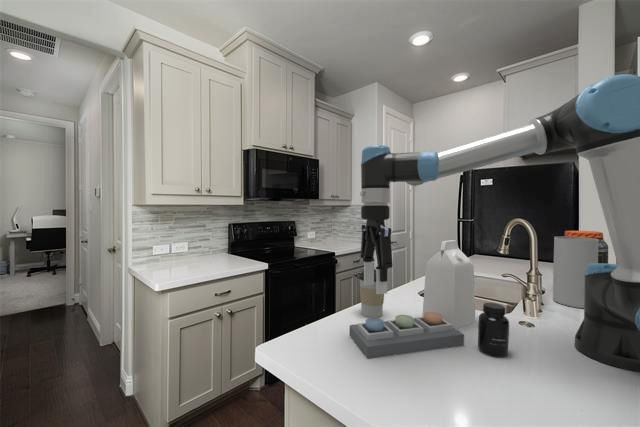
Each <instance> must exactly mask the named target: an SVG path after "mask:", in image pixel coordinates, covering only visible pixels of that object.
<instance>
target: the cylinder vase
mask: <svg viewBox="0 0 640 427" xmlns="http://www.w3.org/2000/svg"><path fill="white" fill-rule="evenodd" d="M553 239H554V241H553V277H552V278H553V280H552V299H553V301H554V302H555V303H557V304H560V305H562V306H567V307H571V308H577V309H583V310H584V298H585V277H584V275H585V271H586V266H587V265H588V264H591V263H598V239H594V238H585V237H567V236H563V235H562V236H558V235H557V236H554V238H553Z"/></svg>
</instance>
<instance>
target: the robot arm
mask: <svg viewBox="0 0 640 427" xmlns="http://www.w3.org/2000/svg"><path fill="white" fill-rule="evenodd" d="M567 149H568V150H569V149H575V151H576V155H577V156H579V157H582V158H583V159H586V160H587V161H588V164H589V166H590V170H591V173H592V176H593V180H594V184H595V188H596V191H597V192H596V193H597V195H598V198H599V202H600V206H601V209H602V213H603V216H604V221H605V223H606V228H607V230H608V234H609V237H610V241H611V242H610V243H611V244H612V249H613V252H614V256H615V259H616V263H608V264H605V263H591V264H588V265H587V266H586V271H585V275H584V277H585V298H584V309H583V310H584V311H583V313H584V314H583V320H582V322H581V324H580V326H579V328H578V329H577V331H576V333H575V335H574V348H575V349H576V350H577V351H579V352H580V353H582V354H583V355H585V356H587V357H589V358H590V359H593V360H596V361H598V362H600V363H603V364H605V365H606V364H607V365H609V366H613V367H616V368H620V369H625V370H630V371H634V372H635V371H636V372H640V76H639V75H636V74H630V73H629V74H628V73H627V74H625V73H624V74H616V75H611V76H608V77H606V78H604V79H601V80H599V81H597V82H595V83H593V84H591V85H588V86H587V87H585V89H584V90H582V91H581V92H580V93H579V94H577V95H576V96H574V97H573V98H572V99H570V100H569V101H567V102H566V103H563V105H561V106H558V107H557V108H556V109H554V110H552V111H550V112H548V113H546V114H543V115H541V116H538V117H535V118H532V119H531V120H530V121H529V122H528V123H527V124H526V125H523V126H522V125H521V126H519V127H515V128H513V129H509V130H506V131H503V132H500V133H496V134H492V135H489V136H486V137H482V138H479V139H476V140H472V141H469V142H466V143H463V144H461V145H460V144H459V145H457V146H454V147H453V146H452V147H450V148H447V149H444V150H441V151H434V150H433V151H432V150H431V151H430V150H429V151H427V150H422V151H415V152H414V151H412V152H398V153H397V152H396V153H395V152H391V149H390V146H388V145H385V144H384V145H383V144H381V145H379V144H374V145H368V146H366V147H364V148H363V149H362V151H361V163H360V169H361V170H360V172H361V174H360V175H361V176H360V178H361V181H360V182H361V184H360V185H361V191H360V192H359V195H360V196H361V200H360V201H361V202H360V203H361V204H363V205H362V206H361V207H360V210H361V211H360V217H361V219H362V220H366V222H365V223H366V224H361V242H360V244H361V246H360V259H362V262H363V271H364V285H374V269H375V270H376V294H384V295H385V294H386V295H387V294H388V269H392V268H393V252H392V237H391V236H392V228H391V227H386V224H385V220H389V219H390V216H391V214H390V212H391V209H390V208H391V207H390V206H389V205H388V204H390V203H391V202H390V201H391V192H390V191H391V187H390V184H391V183H400V182H401V183H406V184H408V185H409V186H412V187H413V186H414V187H416V186H420V185H423V184H425V183H428V182H435V181H437V180H438V179H441V178H446V177H449V176H453V175H457V174H459V173H460V174H461V173H463V172H468V171H471V170H475V169H479V168H482V167H486V166H490V165H493V164H496V163H500V162H504V161H507V160H511V159H516V158H519V157H523V156H526V155H531V154H533V153H535V154H537V155H545V154H548V153H549V154H550V153H551V152H557V151H562V150H567ZM374 253H375V256H376V259H375V258H374ZM375 261H377V262H376V263H377V266H376V267H375Z"/></svg>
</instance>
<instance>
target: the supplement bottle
mask: <svg viewBox="0 0 640 427" xmlns="http://www.w3.org/2000/svg"><path fill="white" fill-rule="evenodd" d="M482 307H483V308H482V311H483V312H481V313H480V314H479V315H478V322H477V323H478V324H477V325H478V326H477V328H478V330H477V347H478V350H479V351H481V353H483V354H485V355H487V356H490V357H494V358H505V357H507V356H508V354H509V343H510V342H509V339H510V320H509V319H508V318H507V316H505V315H506V307H505V306H504V305H501V304H500V303H496V302H495V303H494V302H485V303H484V302H483V306H482Z"/></svg>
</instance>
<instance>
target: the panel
mask: <svg viewBox="0 0 640 427" xmlns="http://www.w3.org/2000/svg"><path fill="white" fill-rule="evenodd" d="M413 318H414V326H413V327H410V328H404V327H400V326H398V325H396V323H395V319H388V320H386V321H384V320H383V321H384V330H382V331H371V330H368V329H367V328H366V322H362V323H361V322H360V323H357V324H350V325H349V337H350V336H351V337H350V338H351V339H352V341H353V340H354V341H353V342H354V343H355V345H356V344H357V345H356V346H357V347H358V348H359V350H360V351H361V352H362V354H363V355H364V357H366V359H367V360H368V359H374V358H382V357H388V355H390V356H395V355H394V354H397V355H402V354H403V353H404V354H410V353H416V352H417V353H418V352H426V351H432V350H433V351H434V350H439V349H444V348H445V349H446V348H452V347H453V348H455V347H459V346H465V334H464V333H463V332H461V331H460V330H458V329H455V328H453V327H452V324H450V323H448V322H447V321H445V320H443V319H442V323H441V324H430V323H427V322H425V321H424V317H422V316H417V317H416V316H415V317H413Z"/></svg>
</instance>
